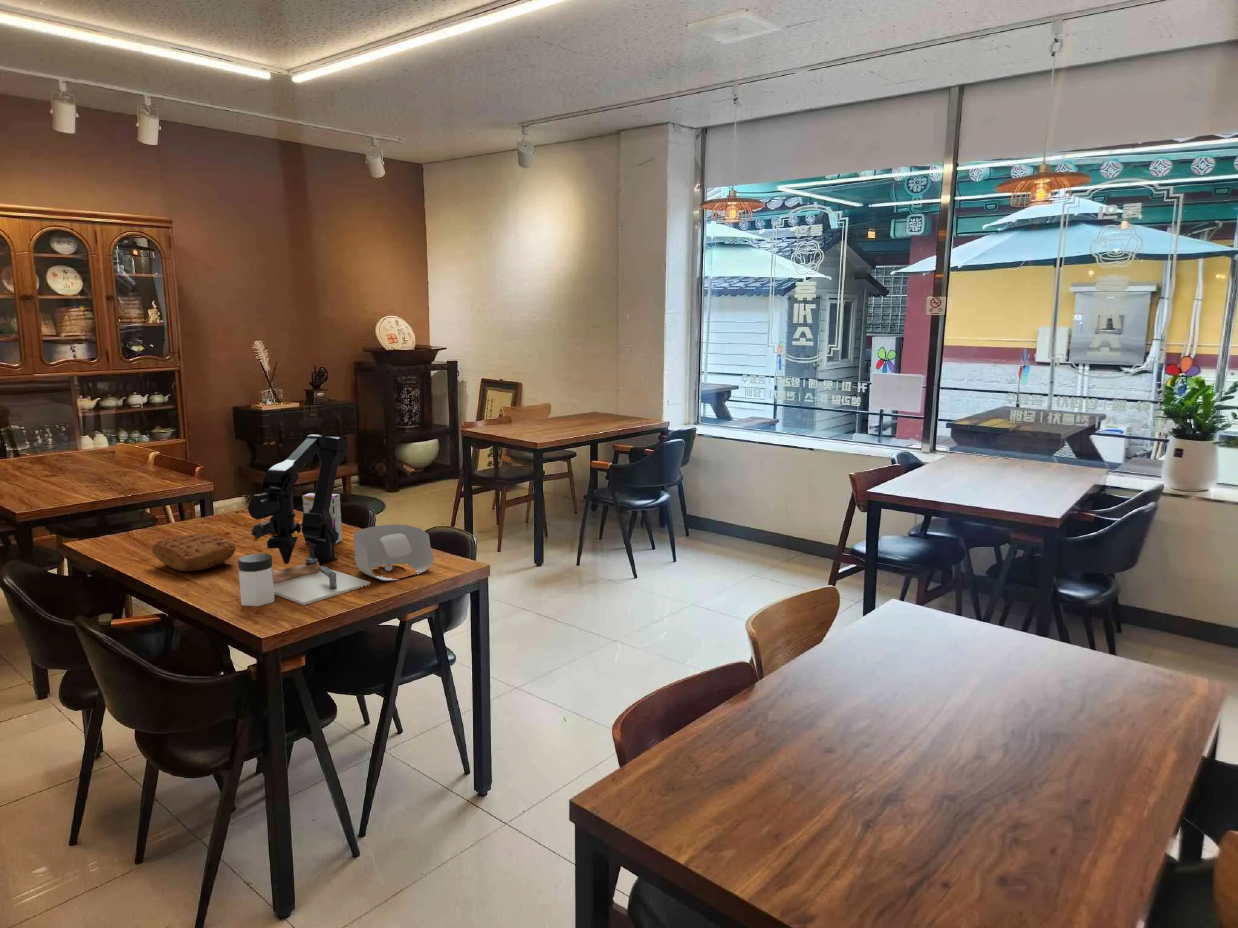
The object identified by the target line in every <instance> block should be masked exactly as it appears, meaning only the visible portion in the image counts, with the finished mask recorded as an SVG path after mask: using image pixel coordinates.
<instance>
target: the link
mask: <svg viewBox="0 0 1238 928" xmlns="http://www.w3.org/2000/svg"><path fill="white" fill-rule="evenodd" d="M319 566H320V564H319V562H317V563H314V564H307V563H306V562H304V563H303V564H298V565H294V566H291V567H286V568H284V569H283V568H282V569H279V570H275V571H273V576H274V583H276V582H279V581H283V580H287V579H290V578H294V577H298V576H301V575H305V574H309V573H316V572H318V571H319Z"/></svg>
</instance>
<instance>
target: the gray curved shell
mask: <svg viewBox="0 0 1238 928" xmlns="http://www.w3.org/2000/svg"><path fill="white" fill-rule="evenodd" d="M353 546H354V547H353V548H354V560H355V563H356V566H357V568H358V569H359V571H360V572H361V573H363V574H365V575H367V576H368V577H371V578H375V579H379V580H381V581H397V580H398V579H392V578H386V577H383V576H384V575H381V577H380V576H374V574H373V573H374V572H373V573H372V571H371V570H370V569H372V568H376V567H377V566H382V565H383V564H385V567H384V570H385V572H391V570H392V571H393V568H394V566H392V564H408V566H412V567H411V568H414V569H417V570H415V571H416V572H420V573H417V575H419V574H421V573H423V572H425V571H427V570H429V569H430V567H431V566H433V563H434V561H435V559H434V555H433V553H432V548H431V540H430V535H429V533H427V532H426V531H425V530H423V529H421V528H419V527H416V526H412V525H407V524H382V525H375V526H370V527H366V528H362V529H359V530H356V531H355V532H354V533H353ZM376 570H379V568H377V569H376Z"/></svg>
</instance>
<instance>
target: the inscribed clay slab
mask: <svg viewBox="0 0 1238 928" xmlns="http://www.w3.org/2000/svg"><path fill="white" fill-rule="evenodd" d="M151 550H152V553H153V555H154V557H156V559H158V560H159V561H160V562H162V563H163V564H165V565H167V566H168V567H170V568H172V569H174V570H177V571H182V572H197V571H203V570H205V569H206V570H207V569H210V568H212V567H213V566H218V565H221V564H222V563H225V562H226V561H227V560H229V559H230V558H232V557H233V555H234V554H235V552H236V544H235V542H233V541H231V540H229V539H227V538H223V537H221V536H217V534H216V535H215V534H210V533H204V532H201V533H199V532H198V533H192V534H191V533H190V534H187V535H181V536H175V537H172V538H165V539H161V540H159V541H156V542H155V543H153V546H152V549H151Z"/></svg>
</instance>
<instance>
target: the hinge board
mask: <svg viewBox="0 0 1238 928" xmlns="http://www.w3.org/2000/svg"><path fill="white" fill-rule="evenodd" d="M319 567H323V566H321V565H319ZM331 570H332V571H333V572H335V573H336V583H337V589H333V590H331V589H330V583H329V577H327V576H326V575H325V574H323V573H322V572H321V571H318V572H316V573H309V574H305V575H301V576H298V577H294V578H290V579H287V580H283V581H279V582H276V583H274V589H275V596H279V597H282V598H284V599H287V600H289V601H292V602H294V603H296V604H300V605H302V606H306V605H309V604H312V603H315V602H319V601H323V600H326V599H329V598H332V597H335V596H339V595H342V594H345V593H348V592H352V591H354V590H358V589H360V587H361V588H364V587H363V586H365V587H367V585H368V586H370V585H371V581H368V580H365V579H362V578H359V577H355V576H353V575H350V574H346V573H343V572H340V571H337V570H334V569H331ZM369 584H370V585H369ZM351 590H352V591H351Z"/></svg>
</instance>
